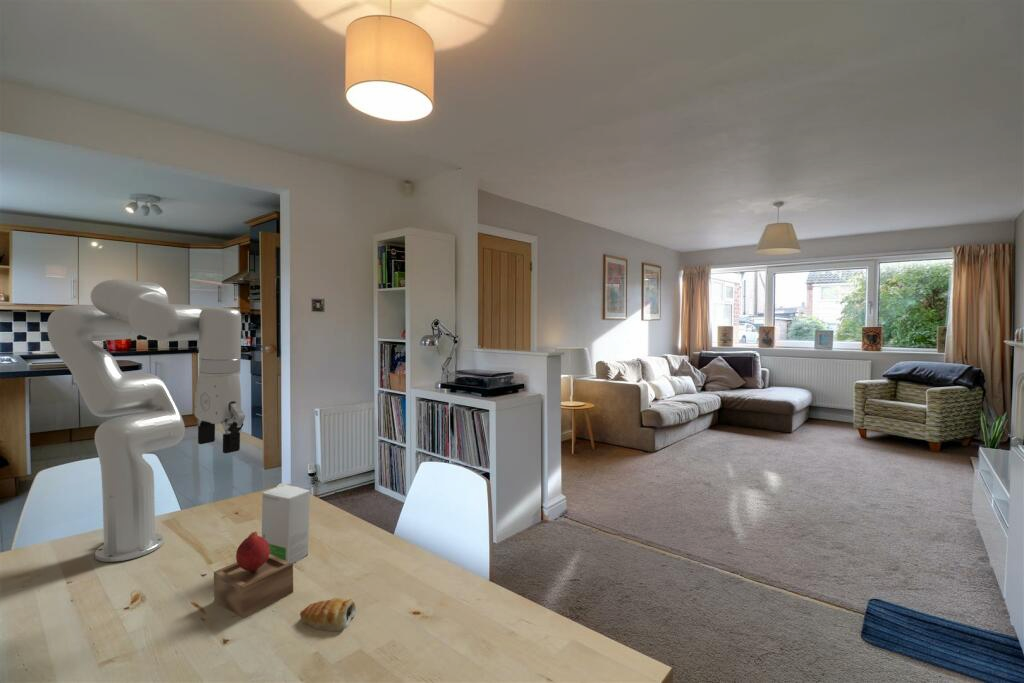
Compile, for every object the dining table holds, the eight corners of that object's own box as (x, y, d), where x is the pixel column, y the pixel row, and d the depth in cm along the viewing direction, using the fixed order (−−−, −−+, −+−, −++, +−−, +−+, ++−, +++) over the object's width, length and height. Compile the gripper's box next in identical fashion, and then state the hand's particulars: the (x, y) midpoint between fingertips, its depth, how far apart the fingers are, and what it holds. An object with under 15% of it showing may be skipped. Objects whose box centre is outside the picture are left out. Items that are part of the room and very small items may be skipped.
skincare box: (260, 560, 110) (259, 492, 109) (284, 547, 116) (283, 483, 116) (288, 567, 107) (287, 498, 106) (311, 554, 113) (310, 488, 112)
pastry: (292, 631, 86) (292, 610, 86) (311, 608, 93) (311, 589, 92) (344, 634, 85) (344, 613, 85) (359, 611, 92) (359, 591, 92)
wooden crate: (214, 601, 94) (213, 572, 94) (263, 577, 103) (263, 551, 102) (244, 618, 89) (243, 587, 89) (293, 592, 98) (292, 563, 97)
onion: (255, 581, 92) (255, 539, 92) (229, 577, 93) (228, 537, 93) (276, 566, 98) (275, 527, 98) (251, 562, 99) (250, 524, 99)
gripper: (179, 363, 103) (178, 443, 104) (223, 373, 94) (222, 459, 95) (216, 361, 110) (215, 436, 111) (261, 370, 101) (259, 451, 102)
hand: (218, 447), depth 103 cm, fingers open, 9 cm apart
